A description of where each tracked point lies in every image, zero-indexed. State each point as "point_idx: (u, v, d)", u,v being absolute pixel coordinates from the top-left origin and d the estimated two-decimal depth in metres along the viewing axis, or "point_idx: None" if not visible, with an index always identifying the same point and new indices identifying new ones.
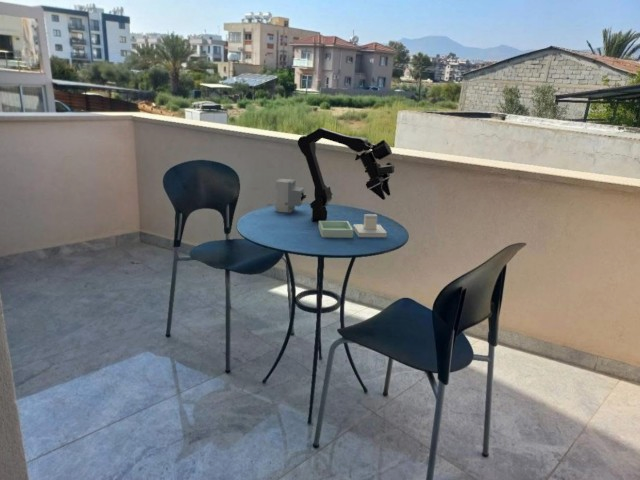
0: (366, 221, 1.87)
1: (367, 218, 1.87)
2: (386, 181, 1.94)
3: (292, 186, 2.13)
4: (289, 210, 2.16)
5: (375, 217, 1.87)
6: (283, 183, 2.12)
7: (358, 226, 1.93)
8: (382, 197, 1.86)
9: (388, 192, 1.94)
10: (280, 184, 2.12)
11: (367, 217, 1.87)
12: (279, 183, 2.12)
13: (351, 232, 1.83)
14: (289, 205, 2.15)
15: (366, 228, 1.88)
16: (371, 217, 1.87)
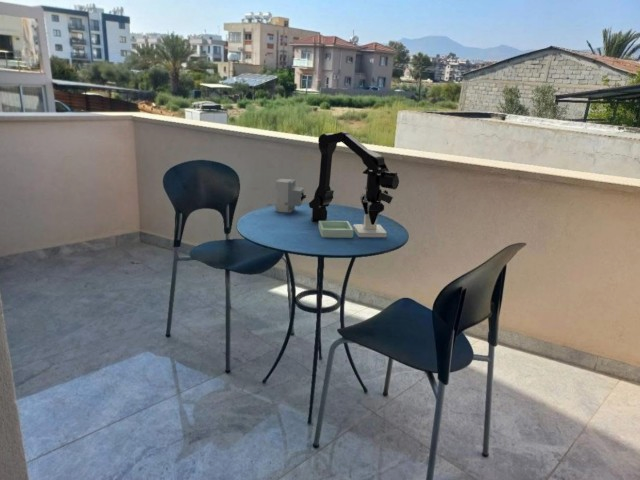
0: (366, 221, 1.87)
1: (367, 218, 1.87)
2: None
3: (292, 186, 2.13)
4: (289, 210, 2.16)
5: None
6: (283, 183, 2.12)
7: (358, 226, 1.93)
8: (372, 222, 1.84)
9: None
10: (280, 184, 2.12)
11: (367, 217, 1.87)
12: (279, 183, 2.12)
13: (351, 232, 1.83)
14: (289, 205, 2.15)
15: (366, 228, 1.88)
16: None
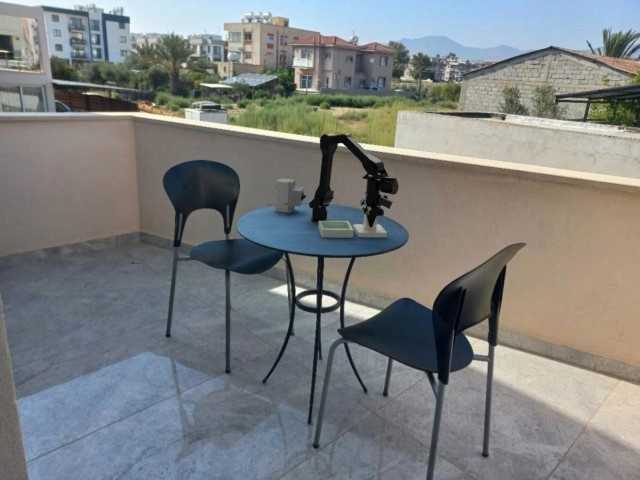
0: (366, 221, 1.87)
1: None
2: None
3: (292, 186, 2.13)
4: (289, 210, 2.16)
5: None
6: (283, 183, 2.12)
7: (358, 226, 1.93)
8: (370, 225, 1.87)
9: None
10: (280, 184, 2.12)
11: None
12: (279, 183, 2.12)
13: (351, 232, 1.83)
14: (289, 205, 2.15)
15: (366, 228, 1.88)
16: None
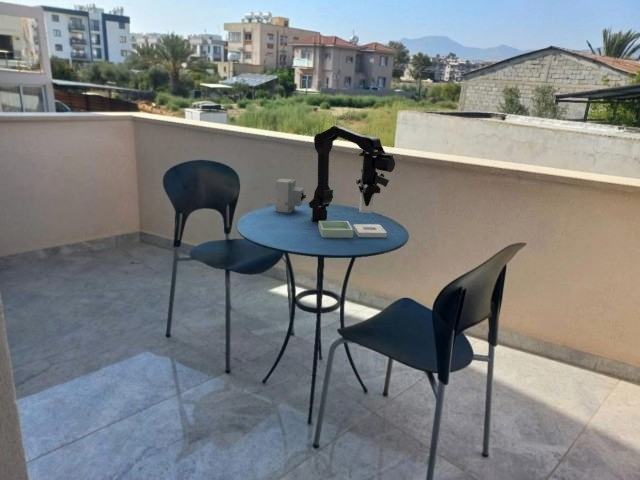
0: (362, 199, 1.84)
1: None
2: None
3: (292, 186, 2.13)
4: (289, 210, 2.16)
5: None
6: (283, 183, 2.12)
7: (358, 226, 1.93)
8: (367, 203, 1.84)
9: None
10: (280, 184, 2.12)
11: None
12: (279, 183, 2.12)
13: (351, 232, 1.83)
14: (289, 205, 2.15)
15: (362, 207, 1.85)
16: None
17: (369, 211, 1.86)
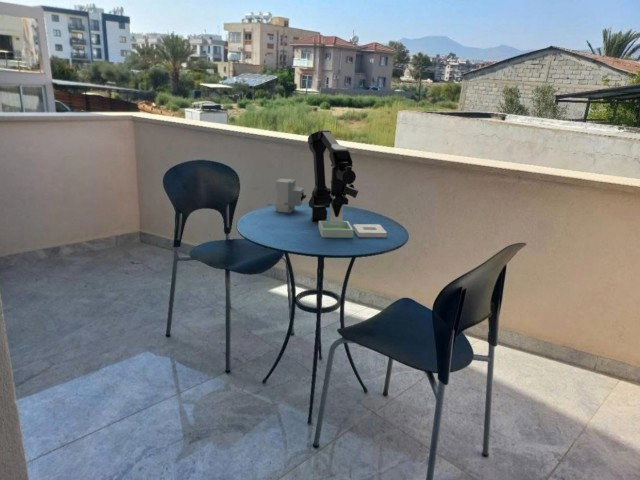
0: (332, 210, 1.84)
1: None
2: None
3: (292, 186, 2.13)
4: (289, 210, 2.16)
5: None
6: (283, 183, 2.12)
7: (358, 226, 1.93)
8: (336, 214, 1.84)
9: None
10: (280, 184, 2.12)
11: None
12: (279, 183, 2.12)
13: (351, 232, 1.83)
14: (289, 205, 2.15)
15: (332, 217, 1.85)
16: None
17: (339, 222, 1.86)
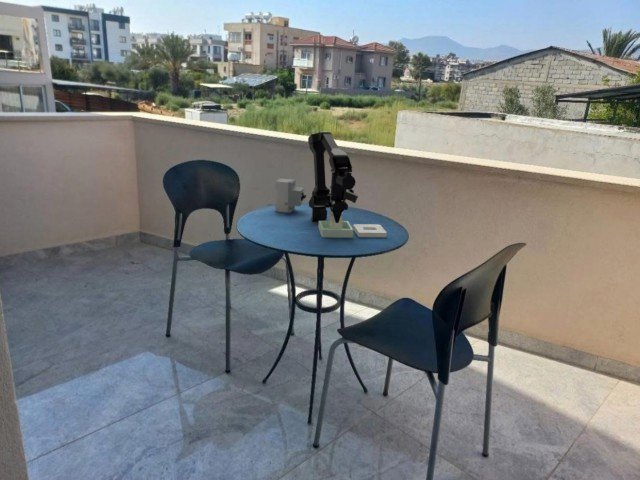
0: (331, 219, 1.85)
1: (332, 216, 1.85)
2: None
3: (292, 186, 2.13)
4: (289, 210, 2.16)
5: None
6: (283, 183, 2.12)
7: (358, 226, 1.93)
8: (336, 220, 1.83)
9: None
10: (280, 184, 2.12)
11: (332, 215, 1.85)
12: (279, 183, 2.12)
13: (351, 232, 1.83)
14: (289, 205, 2.15)
15: (331, 226, 1.86)
16: None
17: None
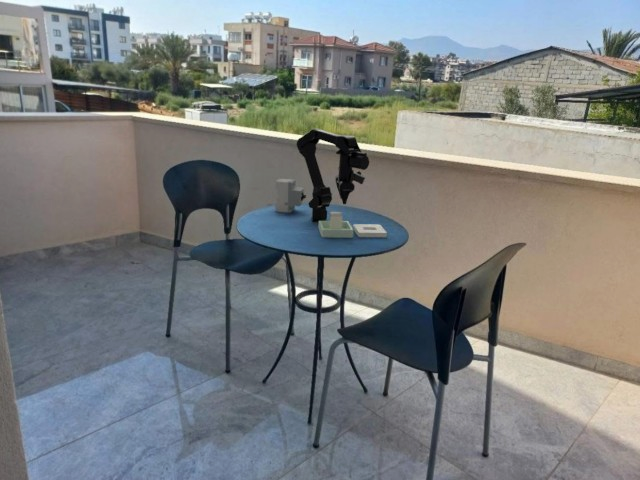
0: (331, 219, 1.85)
1: (332, 216, 1.85)
2: None
3: (292, 186, 2.13)
4: (289, 210, 2.16)
5: (340, 215, 1.85)
6: (283, 183, 2.12)
7: (358, 226, 1.93)
8: (344, 201, 1.88)
9: None
10: (280, 184, 2.12)
11: (332, 215, 1.85)
12: (279, 183, 2.12)
13: (351, 232, 1.83)
14: (289, 205, 2.15)
15: (331, 226, 1.86)
16: (336, 215, 1.85)
17: None
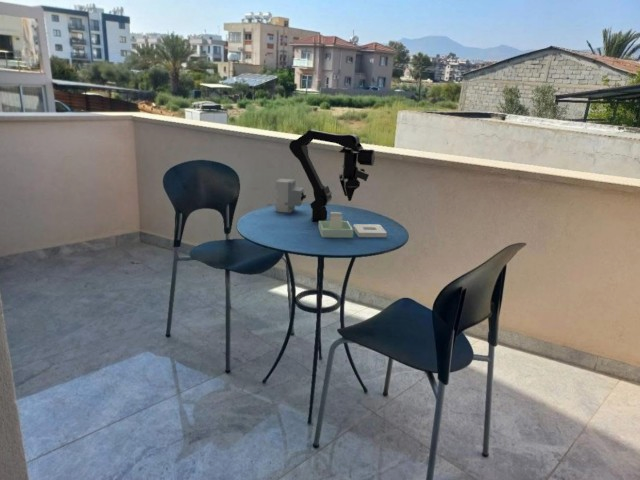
0: (331, 219, 1.85)
1: (332, 216, 1.85)
2: None
3: (292, 186, 2.13)
4: (289, 210, 2.16)
5: (340, 215, 1.85)
6: (283, 183, 2.12)
7: (358, 226, 1.93)
8: (349, 198, 1.93)
9: None
10: (280, 184, 2.12)
11: (332, 215, 1.85)
12: (279, 183, 2.12)
13: (351, 232, 1.83)
14: (289, 205, 2.15)
15: (331, 226, 1.86)
16: (336, 215, 1.85)
17: None
